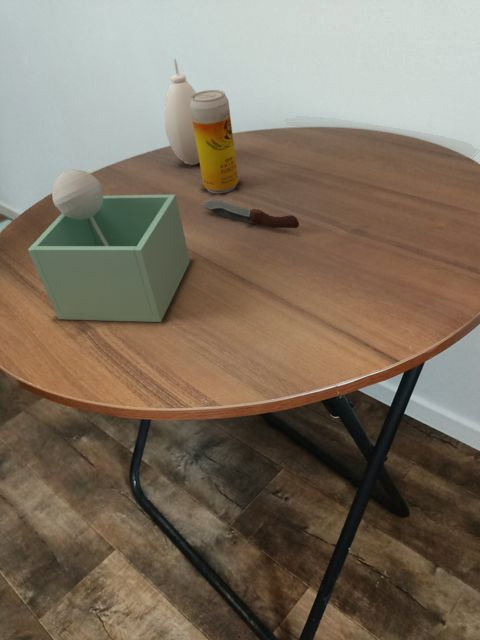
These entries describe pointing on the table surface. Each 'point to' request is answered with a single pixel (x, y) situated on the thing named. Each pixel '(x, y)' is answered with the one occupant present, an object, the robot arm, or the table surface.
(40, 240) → the tub
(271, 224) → the knife
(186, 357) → the table surface
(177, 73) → the sauce bottle
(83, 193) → the lollipop
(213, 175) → the beer can
